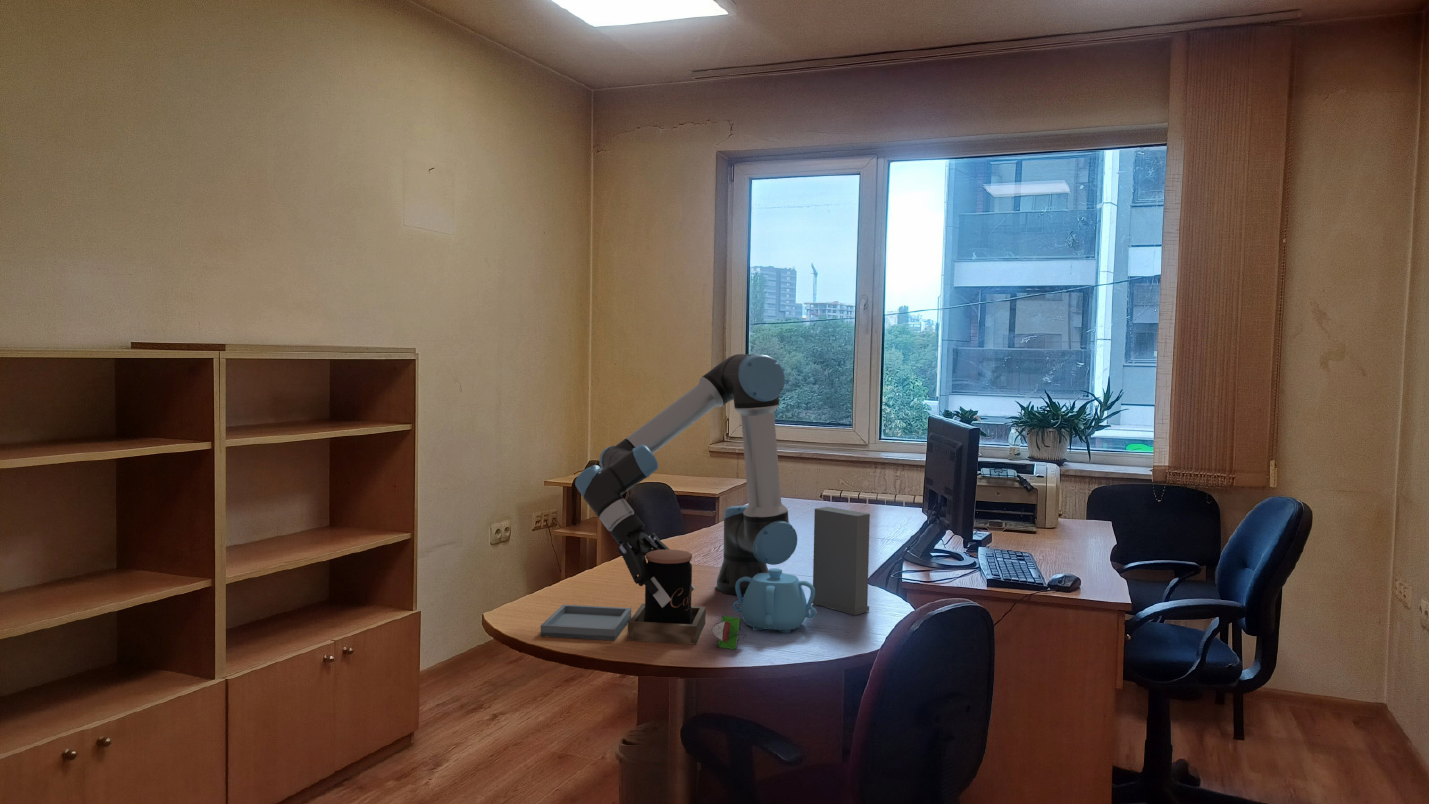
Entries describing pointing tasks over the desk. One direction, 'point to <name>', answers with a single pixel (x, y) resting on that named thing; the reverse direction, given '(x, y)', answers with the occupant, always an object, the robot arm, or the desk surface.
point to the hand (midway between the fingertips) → (679, 597)
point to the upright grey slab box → (841, 559)
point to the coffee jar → (670, 586)
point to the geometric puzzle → (727, 632)
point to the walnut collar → (666, 628)
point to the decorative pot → (774, 601)
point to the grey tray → (586, 622)
